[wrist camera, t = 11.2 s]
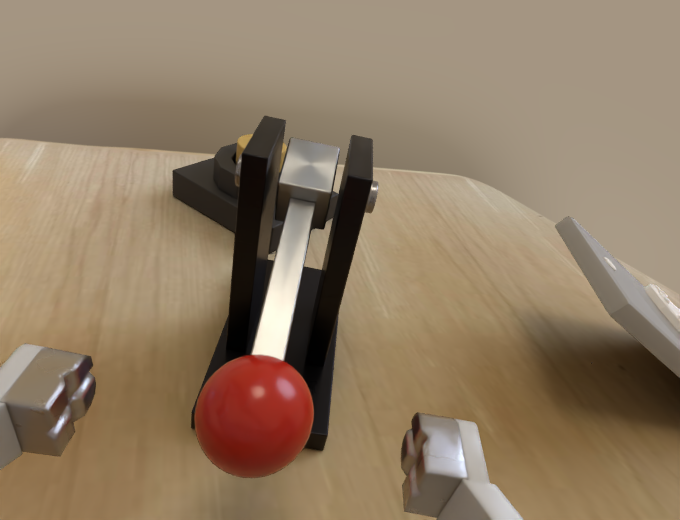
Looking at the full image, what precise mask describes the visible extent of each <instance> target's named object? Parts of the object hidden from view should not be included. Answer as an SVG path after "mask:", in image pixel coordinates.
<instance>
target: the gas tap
mask: <svg viewBox="0 0 680 520" xmlns="http://www.w3.org/2000/svg"><path fill="white" fill-rule="evenodd" d="M285 124H286V120H282V119H277V118H273V117H268V116H264V117H263V119H262V120H261V122H260V124H259V125H258V127H257V129H256V130H255V132H254V134H253V135H252V137H251V139H250V140H249V142H248V144H247V145H246V147H245V149H244V150H243V152H242V154H241V155H240V156H239V158H238V161H237V165H236V171H235V185H236V186H239V193H238V205H237V217H236V230H235V242H234V254H233V267H232V279H231V292H230V304H229V315H228V318H227V320H226V323H225V326H224V328H223V331H222V333H221V336H220V339H219V341H218V344H217V347H216V349H215V352H214V355H213V357H212V360H211V362H210V365H209V368H208V370H207V373H206V376H205V378H204V381H203V384H202V386H201V389H200V391H199V394H198V397H199V395H200V392H201V390H202V388H203V386H204V385H205V383H206V382H207V380H208V379H209V378H210V377H211V376H212V374H213V373H214V372H215V371H217V370H218V369H219V368H220V367H221V366H223V365H224V364H226V363H227V362H229V361H231V360H233V359H236V358H238V357H242V356H246V355H251V351H252V347H253V343H254V339H255V335H256V331H257V327H258V323H259V319H260V315H261V311H262V307H263V303H264V299H265V295H266V291H267V287H268V283H269V279H270V275H271V271H272V267H273V263H274V261H273V260H268V252H269V244H270V237H271V229H272V222H273V214H274V207H275V199H276V192H277V184H278V177H279V169H280V162H281V154H282V147H283V139H284V132H285ZM377 192H378V182H376V181H373V140H372V139H370V138H365V137H360V136H356V135H352V136H351V140H350V144H349V149H348V154H347V158H346V163H345V167H344V171H343V176H342V181H341V185H340V190H339V194H338V199H337V203H336V208H335V212H334V217H333V221H332V226H331V231H330V235H329V240H328V244H327V249H326V253H325V258H324V262H323V267H322V270H319V269H314V268H309V267H303V272H302V277H301V282H300V287H299V292H298V297H297V302H296V307H295V312H294V317H293V322H292V327H291V332H290V337H289V342H288V347H287V351H286V356H285V362H287V363H288V364H290V365H291V366H292V367H294V368H295V369H296V370H297V371H298V372H299V373H300V375H301V376H302V377H303V378H304V380H305V382H306V383H307V385H308V387H309V390H310V393H311V396H312V400H313V405H314V419H313V426H312V430H311V433H310V436H309V439H308V441H307V443H306V445H305V447H304V448H310V449H316V450H323V449H324V446H325V442H326V439H327V436H328V425H329V414H330V403H331V392H332V381H333V370H334V358H335V347H336V336H337V325H338V314H339V308H340V304H341V300H342V297H343V293H344V289H345V285H346V281H347V278H348V274H349V270H350V266H351V262H352V259H353V255H354V251H355V247H356V243H357V240H358V236H359V232H360V228H361V224H362V221H363V217H364V213H365V212H366V213H372V211H373V209H374V206H375V202H376V198H377ZM198 397H197V399H196V402H195V405H194V407H193V410H192V417H191V428H192V429H195V419H194V416H195V408H196V404H197V400H198Z"/></svg>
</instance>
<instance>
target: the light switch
mask: <svg viewBox="0 0 680 520" xmlns="http://www.w3.org/2000/svg"><path fill="white" fill-rule="evenodd" d="M555 228H556V229H557V231H558V233H559V234H560V236H561V237H562V239H563V241H564V242H565V244H566V246H567V247H568V249H569V250H570V252H571V254H572V255H573V257H574V259H575V260H576V262H577V263H578V265H579V267H580V268H581V270H582V272H583V273H584V275H585V276H586V278H587V280H588V281H589V283H590V285H591V286H592V288H593V290H594V291H595V293H596V294H597V296H598V298H599V299H600V301H601V303H602V304H603V306H604V307H605V309H606V311H607V312H608V313H609V315H610V316H611V317H612V318H613V319H614V320H615V321H616V322H617V323H619V324H620V325H621V326H622V327H623V328H624V329H625V330H626V331H628V332H629V333H630V334H631V335H632V336H633V337H634V338H635V339H636V340H638V341H639V342H640V343H641V344H642V345H643V346H644V347H645V348H647V349H648V350H649V351H650V352H651V353H652V354H653V355H654V356H656V357H657V358H658V359H659V360H660V361H661V362H662V363H663V364H665V365H666V366H667V367H668V368H669V369H670V370H671V371H672V372H674V373H675V374H676V375H677V376H678V377H679V378H680V308H677V307H676V306H675V305H674V304H673V303H672V302H671V301H670V300H669V299H668V298H667V297H668V296H667V294H666V293H665V292H664V291H663V290H662V291H661V290H660V288H659V287H658V286H657V285H656V284H649V285H647V286H645V287H644V286H643V285H642V284H641V283H640V282H639V281H638V280H637V279H636V278H635V277H634V276H633V275H632V274H631V273H630V272H628V271H627V270H626V269H625V268H624V267H623V266H622V265H621V264H620V263H619V262H618V261H617V260H616V259H615V258H614V257H613V256H612V255H611V254H610V253H609V252H608V251H607V250H606V249H605V248H604V247H602V245H600V244H599V243H598V242H597V241H596V240H595V239H594V238H593V237H592V236H591V235H590V234H589V233H588V232H587V231H586V230H585V229H584V228H583V227H582V226H581V225H580V224H579V223H578V222H577V221H576V220H575V219H574V218H571V217H566V218H565V219H563V220H562V221H561V222H559V223H558V224H556V225H555ZM592 363H593V362H591V364H592Z"/></svg>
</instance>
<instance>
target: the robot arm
mask: <svg viewBox="0 0 680 520" xmlns="http://www.w3.org/2000/svg"><path fill="white" fill-rule="evenodd" d="M92 366H93V363H92V359H91V356H87V355H82V354H77V353H72V352H67V351H62V350H57V349H52V348H48V347H42V346H37V345H31V344H26V343H25V344H23V345H21V346H20V347H18V348H17V349H16V350H15V351H14V352H13V353H12V354H11V356H10V357H9V358H8V359H7V360H6V361H5V363H4V364H3V365H2V366H1V367H0V470H1V469H2V468H4V467H5V466H6V465H8V464H9V463H11V462H12V461H13V460H15V459H16V458H17V457H19V456H20V455H22V452H29V453H36V454H44V455H52V456H59V457H60V456H61V454H62V453H63V451H64V449H65V448H66V446H67V444H68V443H69V441H70V440H71V438H72V436H73V435H74V433H75V428H74V423H73V422H75V421H77V420H78V419H80V418H82V417H83V416H85V414H86V413H87V411H88V409H89V407H90V406H91V403H92V400H93V397H94V395H95V388H96V382H95V377H94V376H93V375H92V374H91V373H90V372H89V371H90V369H91V368H92ZM401 468H402V470H403V471H404V473H405V474H406V476H407V477H406V479H405V481H404V483H403V485H402V490H403V505H404V512H409V513H414V514H420V515H425V516H430V517H436V518H437V519H436V520H523V518H522V517H521V516H520V515H519V513H518V512H517V511H516V510H515V508H514V507H513V506H512V504H511V503H510V502H509V501H508V499H507V498H506V497H505V496H504V494H503V493H502V492H501V491H500V489H499V488H498V487H497V486H496V485H495V484H490V481H489V476H488V472H487V468H486V463H485V459H484V454H483V450H482V445H481V441H480V436H479V432H478V427H477V425H476V424H475V422H471V421H465V420H459V419H454V418H450V417H444V416H437V415H431V414H425V413H418V412H417V413H416V414H415V415H414V417H413V419H412V429H410V430H408V431H407V432H406V434H405V436H404V439H403V443H402V448H401Z"/></svg>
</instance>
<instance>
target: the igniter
mask: <svg viewBox="0 0 680 520" xmlns="http://www.w3.org/2000/svg"><path fill="white" fill-rule="evenodd" d="M236 152H237V143H235V144H232V145H228V146H225V147H222V148H221V149H220V150H219V151H218V152H217V154H216V155H215V157H214V158H212V159H208V160H205V161H202V162H198V163H195V164H192V165H188V166H185V167H182V168H179V169H175V170H173V196H175V197H176V198H178V199H180V200H181V201H183V202H185V203H186V204H188V205H190V206H191V207H193V208H195V209H196V210H198V211H200V212H201V213H203V214H205V215H206V216H208V217H210V218H211V219H213V220H215V221H216V222H218V223H220V224H221V225H223V226H225V227H226V228H228V229H230V230H231V231H233V232H235V230H236V217H237V205H238V193H239V186H236V185H235V171H236ZM279 176H280V172H279ZM278 179H279V177H278ZM277 185H278V184H277ZM276 197H277V192H276ZM337 199H338V193H336V192H334V191H333V192H332V196H331V201H330V205H329V210H328V214H327V219H326V221H327V220H329V219H331V218H333V217H334V212H335V208H336V203H337ZM275 209H276V199H275V207H274V214H273V222H272V229H271V237H270V244H269V252H268V253H271V252H273V251H275V250H277V247H278V243H279V239H280V235H281V231H282V227H283V223H284V222H282V221H277V220H275ZM312 229H313V228H311V230H312Z"/></svg>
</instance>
